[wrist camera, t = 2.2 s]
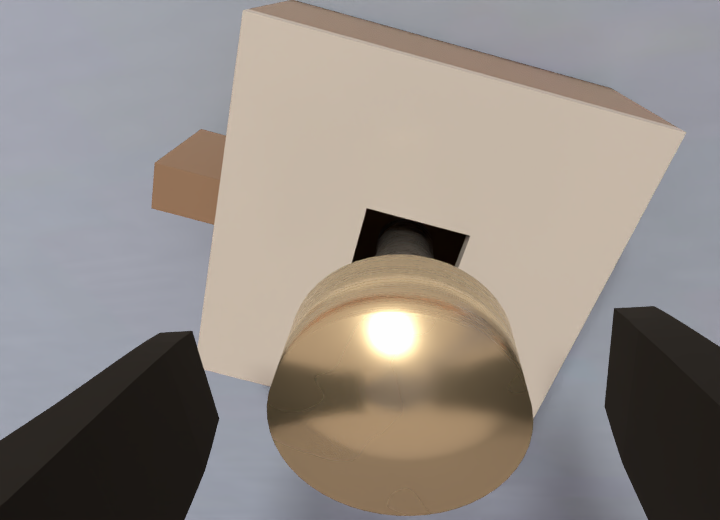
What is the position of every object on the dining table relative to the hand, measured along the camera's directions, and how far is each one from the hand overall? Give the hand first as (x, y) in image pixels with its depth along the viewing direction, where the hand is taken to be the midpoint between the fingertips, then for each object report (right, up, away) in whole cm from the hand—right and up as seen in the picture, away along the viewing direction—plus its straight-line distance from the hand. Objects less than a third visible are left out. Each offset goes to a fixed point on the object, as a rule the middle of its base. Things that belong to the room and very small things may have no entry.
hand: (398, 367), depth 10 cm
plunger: (0, +2, +4) cm, 5 cm away
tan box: (+1, +4, +7) cm, 8 cm away
